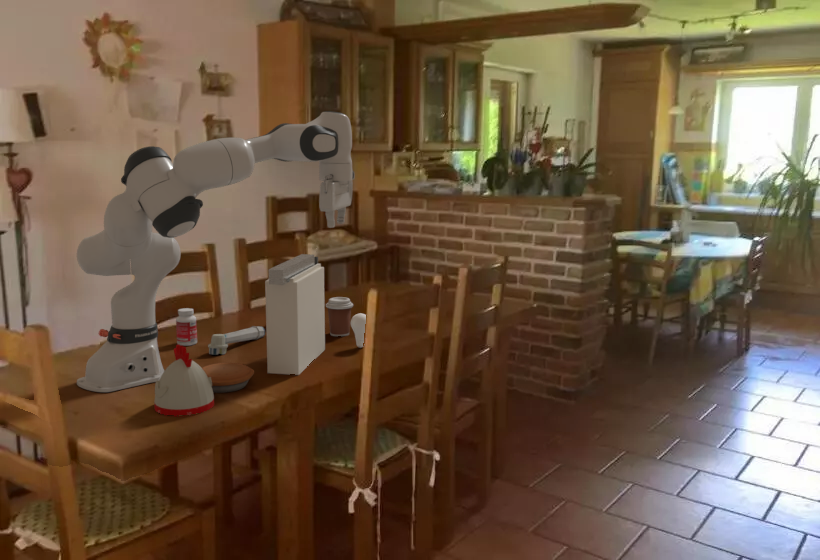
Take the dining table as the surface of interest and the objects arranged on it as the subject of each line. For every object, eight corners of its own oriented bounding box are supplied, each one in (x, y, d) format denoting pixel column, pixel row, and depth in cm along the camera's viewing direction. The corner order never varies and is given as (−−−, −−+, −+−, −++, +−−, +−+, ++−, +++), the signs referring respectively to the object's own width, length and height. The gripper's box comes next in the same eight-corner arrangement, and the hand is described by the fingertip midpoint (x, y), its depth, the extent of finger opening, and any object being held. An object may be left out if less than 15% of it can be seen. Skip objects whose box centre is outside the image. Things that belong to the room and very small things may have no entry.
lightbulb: (365, 351, 228) (365, 316, 226) (347, 349, 230) (347, 314, 228) (373, 346, 234) (373, 312, 232) (355, 344, 235) (355, 310, 233)
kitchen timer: (198, 392, 189) (196, 335, 186) (224, 407, 179) (222, 347, 176) (145, 404, 180) (142, 344, 177) (169, 420, 170) (166, 357, 167)
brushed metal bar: (283, 284, 196) (282, 270, 195) (268, 284, 196) (268, 269, 196) (314, 267, 223) (314, 254, 222) (301, 267, 223) (301, 254, 223)
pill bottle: (192, 346, 231) (191, 312, 229) (174, 345, 232) (172, 311, 230) (200, 341, 237) (198, 307, 235) (181, 340, 238) (180, 307, 236)
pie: (221, 400, 184) (220, 380, 183) (181, 387, 193) (180, 369, 192) (266, 384, 196) (266, 366, 195) (227, 373, 205) (226, 356, 204)
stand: (298, 375, 204) (296, 271, 199) (267, 373, 205) (264, 270, 200) (325, 349, 230) (324, 256, 224) (297, 347, 231) (296, 255, 226)
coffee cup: (325, 337, 243) (324, 302, 241) (327, 330, 252) (326, 296, 250) (352, 337, 244) (352, 302, 241) (353, 330, 253) (353, 296, 250)
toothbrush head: (267, 326, 242) (219, 333, 219) (266, 346, 243) (218, 355, 220) (254, 324, 244) (204, 331, 221) (253, 344, 245) (203, 353, 222)
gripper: (336, 175, 187) (337, 230, 189) (356, 172, 207) (356, 222, 209) (312, 175, 188) (313, 229, 190) (334, 172, 208) (334, 221, 210)
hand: (336, 225), depth 200 cm, fingers open, 8 cm apart
